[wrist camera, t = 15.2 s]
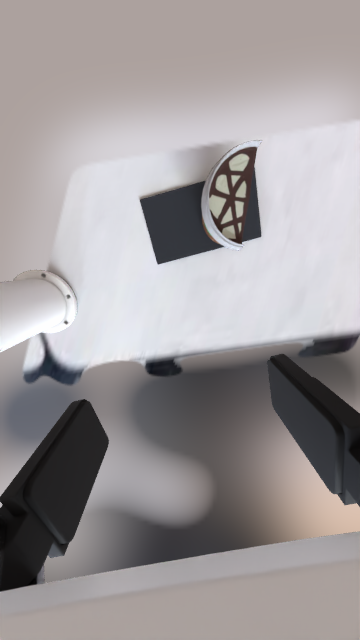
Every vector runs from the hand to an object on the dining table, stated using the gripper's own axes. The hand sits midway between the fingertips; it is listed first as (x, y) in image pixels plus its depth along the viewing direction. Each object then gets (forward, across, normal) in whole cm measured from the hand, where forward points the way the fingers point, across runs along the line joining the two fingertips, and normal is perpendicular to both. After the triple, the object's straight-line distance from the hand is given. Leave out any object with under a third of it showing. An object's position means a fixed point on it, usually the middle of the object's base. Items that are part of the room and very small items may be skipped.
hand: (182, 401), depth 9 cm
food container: (+28, -10, -13) cm, 33 cm away
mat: (+28, -8, -13) cm, 32 cm away
